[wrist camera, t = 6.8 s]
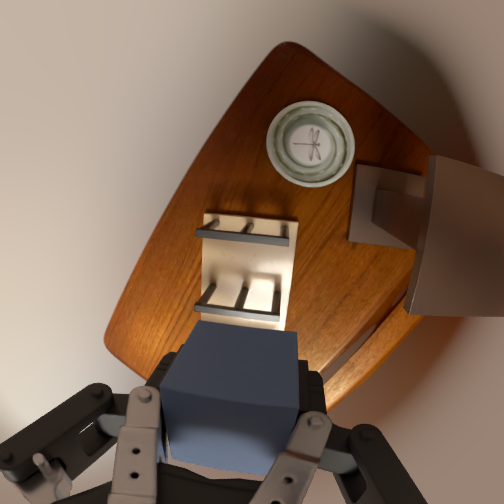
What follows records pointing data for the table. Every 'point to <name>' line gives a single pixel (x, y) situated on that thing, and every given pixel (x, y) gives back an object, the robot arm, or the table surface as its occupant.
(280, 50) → the table surface
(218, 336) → the block
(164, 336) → the table surface
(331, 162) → the saucer
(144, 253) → the table surface
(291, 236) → the rack
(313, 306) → the table surface
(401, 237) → the stand
